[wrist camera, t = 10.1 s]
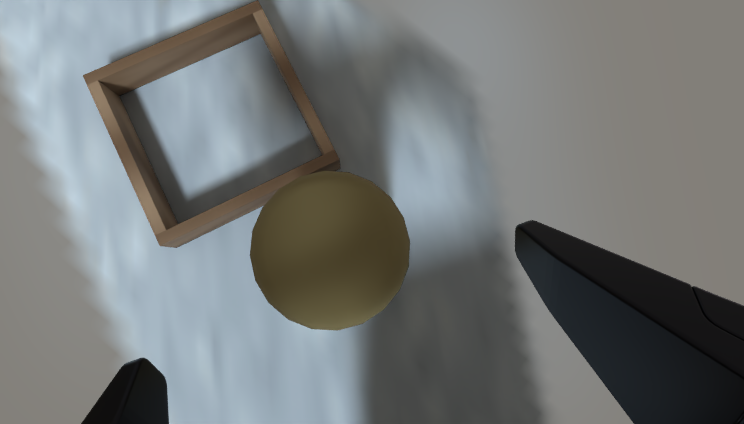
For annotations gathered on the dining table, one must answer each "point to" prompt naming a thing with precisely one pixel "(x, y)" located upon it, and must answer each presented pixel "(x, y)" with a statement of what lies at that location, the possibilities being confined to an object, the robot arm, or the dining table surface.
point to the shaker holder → (169, 59)
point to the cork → (330, 250)
